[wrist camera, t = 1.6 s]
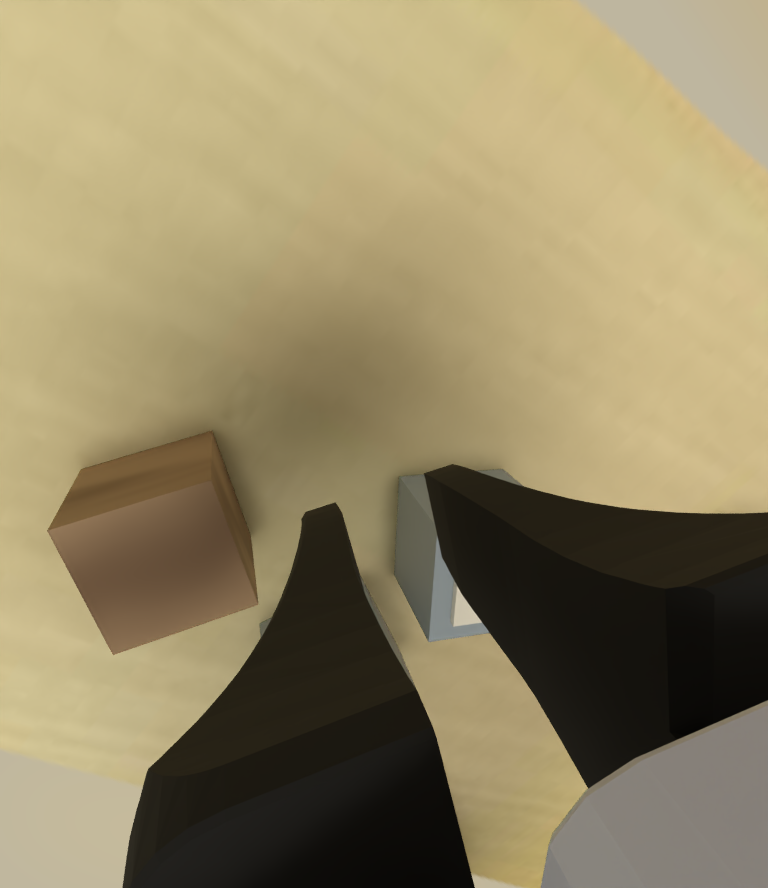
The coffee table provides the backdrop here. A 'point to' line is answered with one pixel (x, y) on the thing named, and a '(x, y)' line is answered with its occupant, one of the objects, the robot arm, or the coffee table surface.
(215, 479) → the plain walnut block
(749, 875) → the robot arm
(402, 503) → the labelled block
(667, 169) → the coffee table surface
